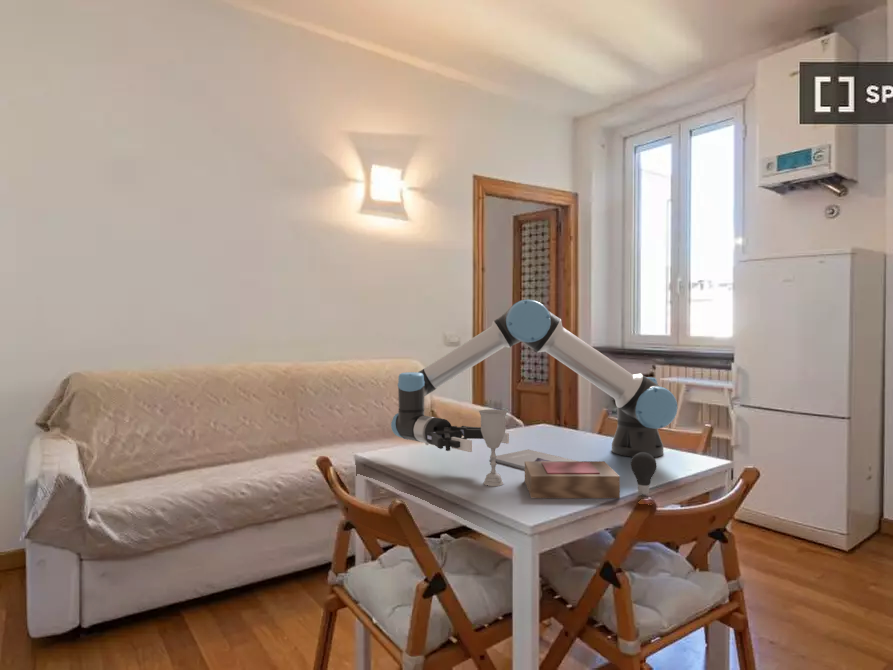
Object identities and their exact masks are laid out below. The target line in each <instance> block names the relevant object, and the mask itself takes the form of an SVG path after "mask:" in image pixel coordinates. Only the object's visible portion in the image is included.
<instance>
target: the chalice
mask: <svg viewBox="0 0 893 670" xmlns="http://www.w3.org/2000/svg"><path fill="white" fill-rule="evenodd" d="M478 413H479V415H480V427H481V432H482V435H483V438H484V439H483V440H484V443H485V444H486V446H487V448H489V449H490V451H491V452H490V456H489V458H490V457H491V461H490V463H489V465H490V467H491V470H490V472H489V473H486V476H485V478H484V481H483V483H484V484H483V485H485V486H487V485H488V487H498V486H499V487H500V486H502V485H504V484H505V483H504V481H503V479H502V476H501V475H500V474H499V473H498V472H497V471H496V466H497V465H498V463H496V462H495V459H496V457H497V456H498V455H496V449H498V448H499V447H500V446H501V442H502V439H503V437H504V434H505V432H506V415H507V414H508V411H507V410H504V409H489V408H488V409H481V410H478Z"/></svg>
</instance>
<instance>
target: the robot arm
mask: <svg viewBox="0 0 893 670" xmlns="http://www.w3.org/2000/svg"><path fill="white" fill-rule="evenodd" d="M519 343H523V344H524V345H525V346H527V347H529V348H530V349H531V350H533V351H535V352H536V353H543V352H545V353H546V354H547V355H549V356H551V357H552V358H554V359H555V360H557V361H559V363H561V364H563V365H564V366H566V367H567V368H569V369H570V370H572V371H573V372H574V373H576V374H577V375H579V376H580V377H582V378H583V379H585V380H586V381H588V383H590V384H592V385H594V386H595V387H597V388H598V389H599V390H601V391H602V392H603V393H605V394H607V395H608V396H610V398H613V399H614V401H615V402H614V403H615V406H616V408H617V418H616V419H617V426H616V430H615V433H614V436H613V439H612V443H611V451H612V453H614V454H617V455H619V456H624V457H630V458H631V457H632V458H633V456H634V455H636V454H637V453H640V452H645V453H648V454H650V455H652V456H653V457H654V458H656V457H661V456H663V455H664V444H663V442H662V439H661V435H660V433H659V429H662V428H666V427H667V426H669V425H670V424H671V423H672V422H673V421H674V419H676V416H677V413H678V409H679V408H678V401H677V398H676V397H675V395H674V394H673V393H672V392H671V391H670V390H669V389H668V388H666V387H663V386H660V385H658V384H659V383H658V380H657V378H656V377H646V376H645V375H643V374H642V373H635V374H633V373H632V372H630V371H628V370H626V369H625V368H624V367H622V366H621V365H620V364H618V363H617V362H616V361H613V360H612V359H611V358H609V357H608V356H606V355H605V354H603V353H601V352H600V351H599V350H597V349H596V348H594V347H593V346H591V345H590V344H589V343H588V342H586V341H584V340H583V339H581V338H579V337H578V336H577V335H575V334H573V332H571V331H569V330H568V329H567V328H565V327H564V326H563V323H562V319H561V318H560V317H558V316H556V315H555V314H554V313H553V312H551V311H550V310H549V309H548V308H547V307H546V306H545V305H544V304H543V303H541V302H539V301H538V300H534V299H529V298H528V299H527V298H526V299H522V300H519V301H517V302H515V303H513V305H511V306H510V307H509V308H508V309H507V311H505V312H504V313H503V314H502V315H501V316H499V317H498V318H496V319H495V320H492V323H491V326H489V327H488V328H486V329H485V330H483V331H481V332H480V333H479V334H477V335H476V336H473V337H471V339H469V340H467V341H466V342H464V343H463V344H461V345H459V346H458V347H455V348H454V349H453V350H451V351H449V352H448V353H446V354H445V355H443V356H442V357H440V358H439V359H437V360H435V361H434V362H432V363H430V364H429V365H427V366H425V367H423V369H421V370H419V371H418V372H417V371H415V372H414V371H413V372H412V371H411V372H407V371H406V372H401V373H399V375H398V377H397V378H398V380H397V381H398V382H397V389H398V391H397V393H398V411H397V413H396V414H394V416H393V417H392V420H391V423H390V427H391V431H392V432H393V434H394V435H395V436H397V437H399V438H401V439H403V440H409V441H414V442H419V443H424V444H425V446H429V445H433V446H435V447H436V448H437V449H440V450H442V449H444V447H445V451H447V452H450V451H451V449H454V450H459V451H463V452H467V453H472V452H473V440H475V439H476V440H484V438H483V435H482V432H481V426H466V425H462V426H457V425H452V424H451V421H449V420H448V419H446V418H441V417H440V418H439V417H435V416H430V415H425V397H426V396H428V395H429V394H430V393H432V392H434V391H435V390H436V389H438V388H440V387H441V386H444V385H445V384H446V383H449V381H452V380H453V379H455V378H457V377H458V376H459V375H461V374H463V373H464V372H466V371H469V369H471V368H472V367H474V366H476V365H478V364H480V363H481V362H483V361H484V360H485V359H487V358H489V357H490V356H492V355H494V354H495V353H497V352H498V351H500V350H502V349H504V348H509V349H510V348H511V347H513V346H515V345H516V344H519ZM470 439H471V440H470ZM501 443H502V444H509V443H510V433H509V432H506V431H505V434H504V437H503V439H502V442H501Z"/></svg>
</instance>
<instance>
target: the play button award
mask: <svg viewBox="0 0 893 670" xmlns="http://www.w3.org/2000/svg"><path fill="white" fill-rule="evenodd" d="M496 456H497V457H496V459H495V462H497V463H496V464H501V465H503V466H504V465H505V466H508V467H511V468H516V469H519V470H522V471H523V470H524V471H525V461H577V460H575V459H572V458H571V459H570V458H568V457H562V456H557V455H554V454H551V453H545V452H542V451H537V450H534V449H523V450H519V451H514V452H510V453H509V452H508V453H503V454H499V455H496ZM489 461H490V462H491V457H490V456H489Z"/></svg>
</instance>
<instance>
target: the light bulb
mask: <svg viewBox="0 0 893 670" xmlns="http://www.w3.org/2000/svg"><path fill="white" fill-rule="evenodd" d="M657 466H658V465H657V461H656V459H655V457H653V456H652V455H650V454H648V453H645V452H640V453H637V454H636V455H634V456H633V457H632V458H631V460H630V468H631V471H632V473H633V475H634V476H635V479H636V483H637V492H638V493H639V494H640V495H641V496H642V497H646V496H647V495H648V494H650V484H651V481H652V479H653V476H654V475H655V473H656V471H657Z"/></svg>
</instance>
